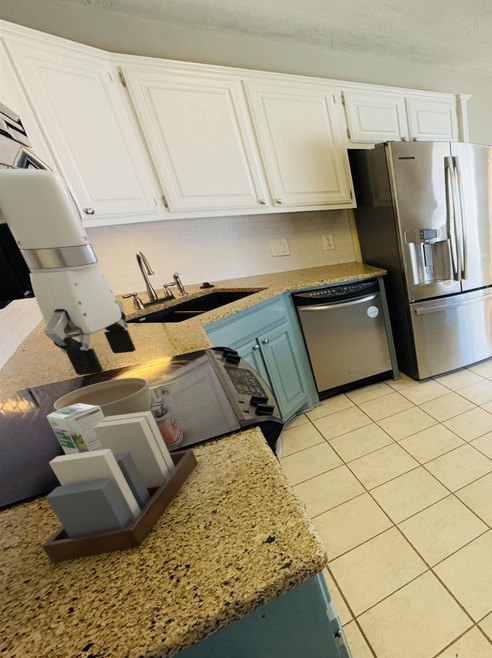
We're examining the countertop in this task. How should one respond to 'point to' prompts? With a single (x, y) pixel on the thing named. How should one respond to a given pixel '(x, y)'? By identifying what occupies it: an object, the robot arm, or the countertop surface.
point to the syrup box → (77, 427)
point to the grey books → (98, 502)
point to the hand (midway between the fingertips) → (108, 362)
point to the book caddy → (135, 534)
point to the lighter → (167, 423)
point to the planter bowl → (112, 397)
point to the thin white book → (94, 473)
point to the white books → (137, 444)
